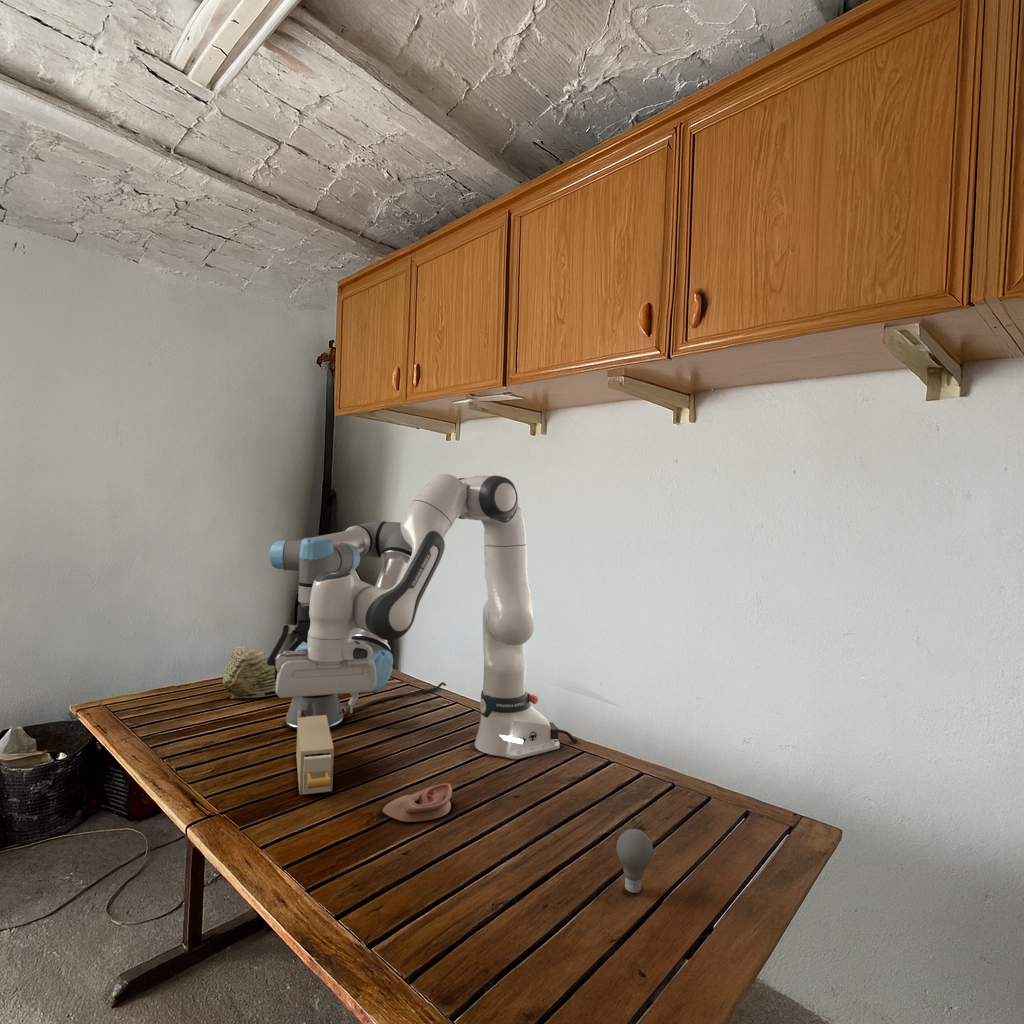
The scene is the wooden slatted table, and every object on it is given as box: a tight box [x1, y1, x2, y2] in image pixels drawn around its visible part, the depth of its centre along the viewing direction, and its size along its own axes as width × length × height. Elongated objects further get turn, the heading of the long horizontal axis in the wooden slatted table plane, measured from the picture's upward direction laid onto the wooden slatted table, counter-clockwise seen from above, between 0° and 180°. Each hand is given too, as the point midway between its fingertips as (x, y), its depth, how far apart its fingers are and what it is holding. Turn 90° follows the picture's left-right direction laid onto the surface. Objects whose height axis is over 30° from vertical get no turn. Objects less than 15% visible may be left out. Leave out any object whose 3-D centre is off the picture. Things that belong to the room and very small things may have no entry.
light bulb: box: [615, 828, 654, 894], centre depth 106 cm, size 6×6×10 cm
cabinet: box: [295, 715, 335, 796], centre depth 145 cm, size 22×7×9 cm, turn 21°
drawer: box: [303, 753, 332, 795], centre depth 140 cm, size 26×6×8 cm, turn 21°
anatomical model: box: [382, 782, 453, 823], centre depth 130 cm, size 13×4×12 cm
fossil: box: [222, 646, 277, 699], centre depth 198 cm, size 9×18×15 cm, turn 132°
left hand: (311, 692), depth 150 cm, fingers open, 13 cm apart
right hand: (325, 714), depth 132 cm, fingers open, 8 cm apart
